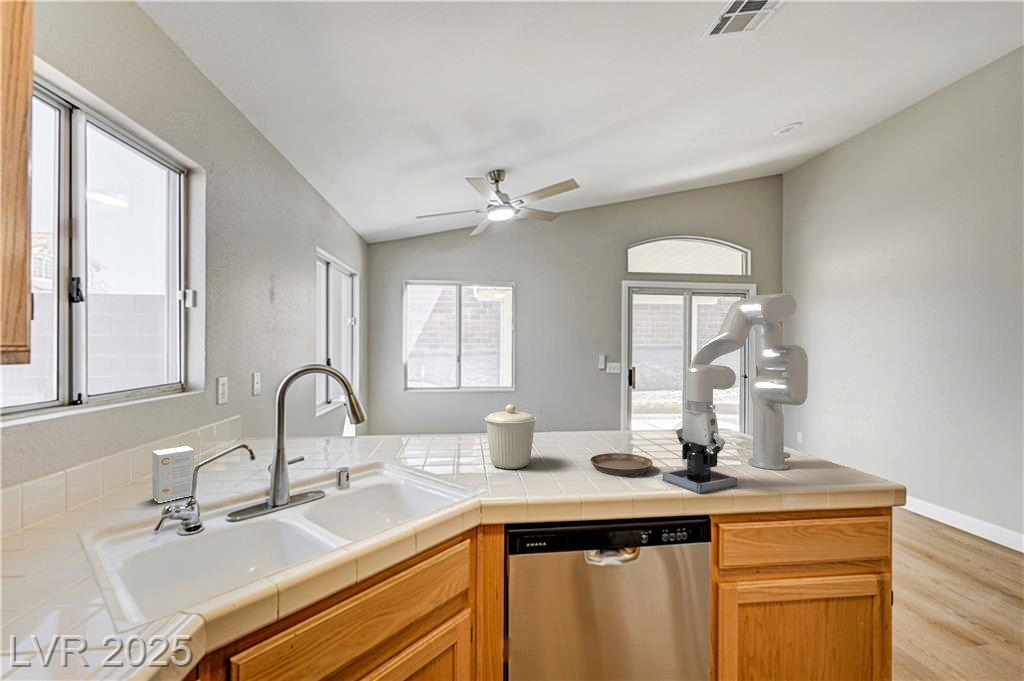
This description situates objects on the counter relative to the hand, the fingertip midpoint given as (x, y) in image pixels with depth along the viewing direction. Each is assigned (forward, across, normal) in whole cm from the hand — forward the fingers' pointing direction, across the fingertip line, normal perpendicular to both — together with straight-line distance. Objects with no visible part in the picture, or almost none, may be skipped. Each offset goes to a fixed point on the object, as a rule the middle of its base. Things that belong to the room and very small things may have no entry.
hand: (699, 462), depth 139 cm
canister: (+6, +43, +43) cm, 61 cm away
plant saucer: (+7, +23, +11) cm, 26 cm away
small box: (+7, +53, +140) cm, 150 cm away
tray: (+6, 0, 0) cm, 6 cm away
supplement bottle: (+6, 0, 0) cm, 6 cm away
